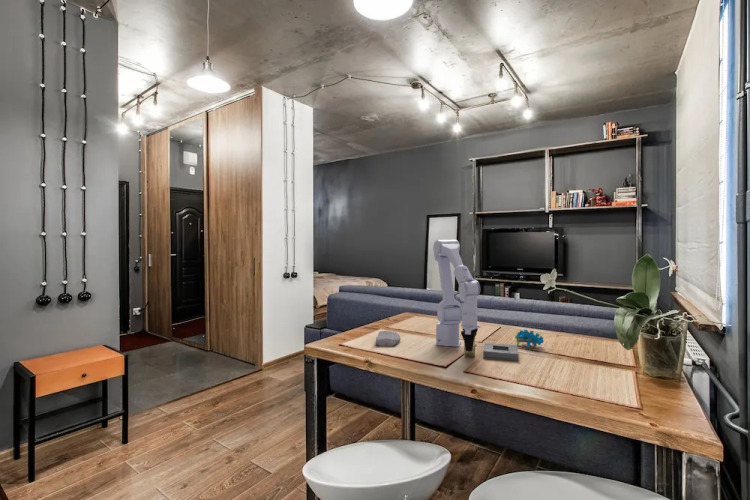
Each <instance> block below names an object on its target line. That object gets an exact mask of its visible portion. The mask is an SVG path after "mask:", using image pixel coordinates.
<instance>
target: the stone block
mask: <svg viewBox="0 0 750 500" xmlns="http://www.w3.org/2000/svg"><path fill="white" fill-rule="evenodd" d="M401 338H402V337H401V334H399V333H397V332H395V331H391V330H380V331H379V332H378V333H377V336H376V339H375V341H376V343H375V344H376V345H377V346H378V347H394V346H396V345H397V344H398V343H399V342H401Z"/></svg>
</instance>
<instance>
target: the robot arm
mask: <svg viewBox="0 0 750 500" xmlns="http://www.w3.org/2000/svg"><path fill="white" fill-rule="evenodd" d="M460 246H461V245H460V242H459V241H458V240H457V239H436V240H435V241H434V243H433V247H432V249H433V256H434V257H433V258H434V260H435V261H436V262H437V263H438V273H439V277H440V279H439V280H440V287H441V294H442V295H441V296H442V300H441V301H439V303H438V304H437V311H436V312H437V313H436V316H437V320H438V322H437V323H436V327H435V328H436V329H435V335H436V336H435V338H436V339H435V341H436V342H435V346H445V347H457V348H459V347H460V346H461V343H462V340H460V335H461V337H462V339H463V344H464V343H465V348H466V351H472V349H473V343H474V339H475V340H476V336H477V332H478V330H479V328H481V324H479V323H478V296H479V295H480V293H481V285H480V282H479V281H478V280H476V279H475V278H473V276H472V274H471V272H470V270H469V267H468V266H467V265H464V264H463V261H462V258H461V255H460V250H461V249H460ZM451 264H452V266H453V268H454V270H453V274H454V276H455V279H456V281H457V283H458V287H457V288H458V293H459V300H460V301H461V302H460V301H458V300H457V299H456V297H455V293H454V292H455V291H454V284H453V283H454V282H453V277H452V275H453V274H452V270H451V269H452V268H451ZM460 324H461V325H460ZM460 326H461V328H462V330H461V331H460Z"/></svg>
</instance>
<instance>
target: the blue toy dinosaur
mask: <svg viewBox="0 0 750 500" xmlns="http://www.w3.org/2000/svg"><path fill="white" fill-rule="evenodd" d="M514 339H516V345H517V347H519V344H520V343H526V347H525V348H526V349H528V350H529V349H530V346H531V344H532V345H533V346H537V345H538V346H541V344H544V337H543V336H540V333H538V332H535V334H534V330H530V331H528V329H524V330H522V329H520V330H519V331H518V332H517V334H515V336H514Z"/></svg>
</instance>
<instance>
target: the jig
mask: <svg viewBox="0 0 750 500" xmlns="http://www.w3.org/2000/svg"><path fill="white" fill-rule="evenodd" d="M482 357H483V359H493V360H503V361H512V362H519V349H518V346H517V344H509V343H495V342H484V346H483V356H482Z"/></svg>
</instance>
